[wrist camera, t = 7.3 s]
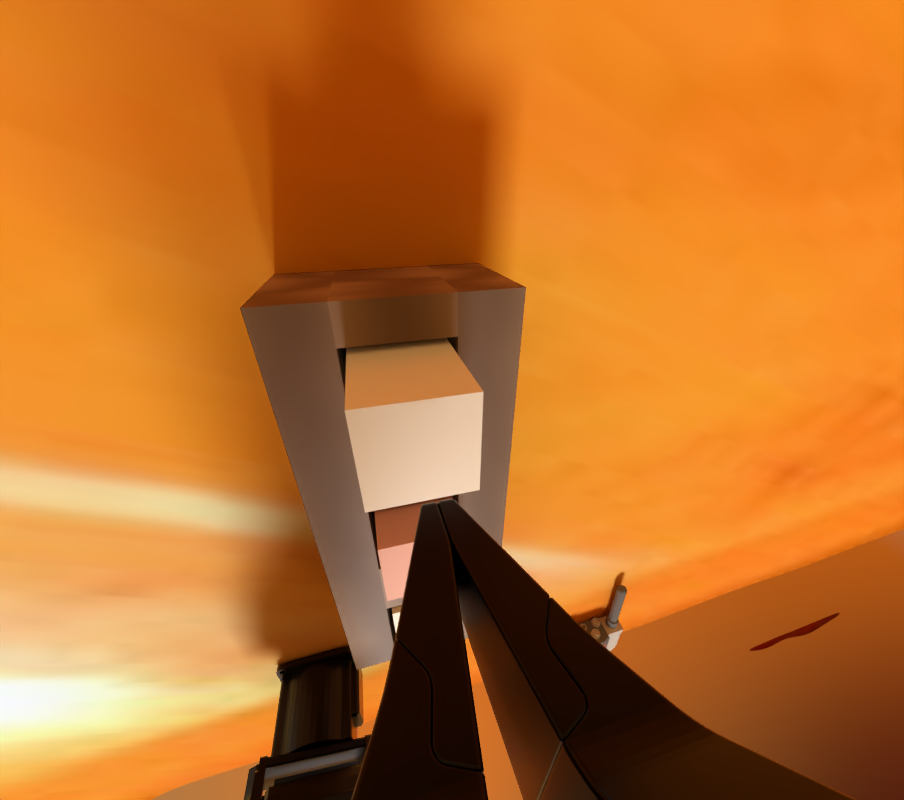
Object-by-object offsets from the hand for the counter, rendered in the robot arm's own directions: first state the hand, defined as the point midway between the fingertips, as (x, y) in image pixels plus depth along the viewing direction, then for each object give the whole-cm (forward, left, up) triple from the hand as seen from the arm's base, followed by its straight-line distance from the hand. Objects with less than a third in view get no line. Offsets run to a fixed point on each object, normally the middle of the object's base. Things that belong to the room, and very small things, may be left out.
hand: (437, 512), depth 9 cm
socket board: (0, -8, -12) cm, 15 cm away
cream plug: (0, 0, -8) cm, 8 cm away
